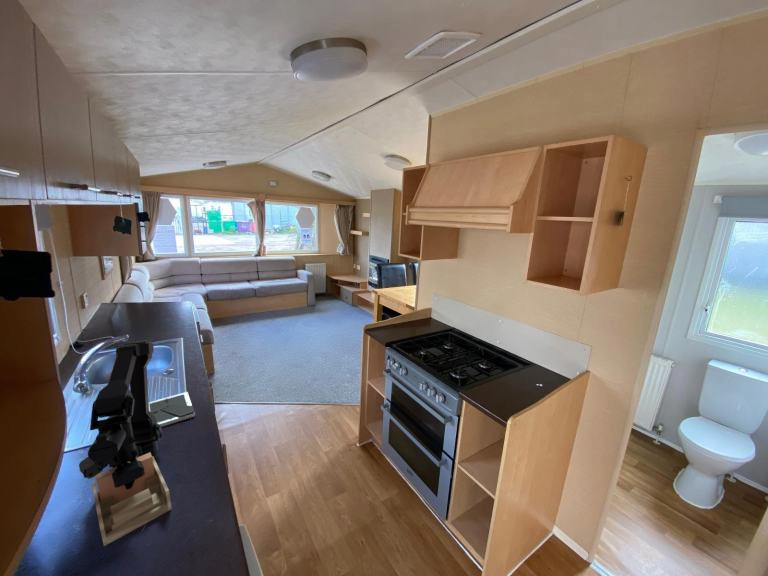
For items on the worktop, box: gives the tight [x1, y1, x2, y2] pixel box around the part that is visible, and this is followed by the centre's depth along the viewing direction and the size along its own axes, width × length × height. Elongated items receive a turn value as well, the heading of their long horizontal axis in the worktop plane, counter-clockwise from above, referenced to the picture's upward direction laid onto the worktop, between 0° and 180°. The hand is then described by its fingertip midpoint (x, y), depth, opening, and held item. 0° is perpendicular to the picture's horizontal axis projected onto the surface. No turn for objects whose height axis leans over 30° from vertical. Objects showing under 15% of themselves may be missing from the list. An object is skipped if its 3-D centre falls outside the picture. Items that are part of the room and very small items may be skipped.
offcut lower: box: [109, 493, 160, 531], centre depth 83 cm, size 4×10×2 cm, turn 136°
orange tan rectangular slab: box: [95, 453, 155, 504], centre depth 89 cm, size 2×12×10 cm, turn 136°
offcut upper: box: [110, 488, 153, 525], centre depth 82 cm, size 4×8×2 cm, turn 136°
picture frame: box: [149, 391, 196, 428], centre depth 131 cm, size 16×3×21 cm
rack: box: [91, 457, 173, 547], centre depth 86 cm, size 18×14×7 cm
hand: (128, 485), depth 89 cm, fingers closed on orange tan rectangular slab, 2 cm apart
